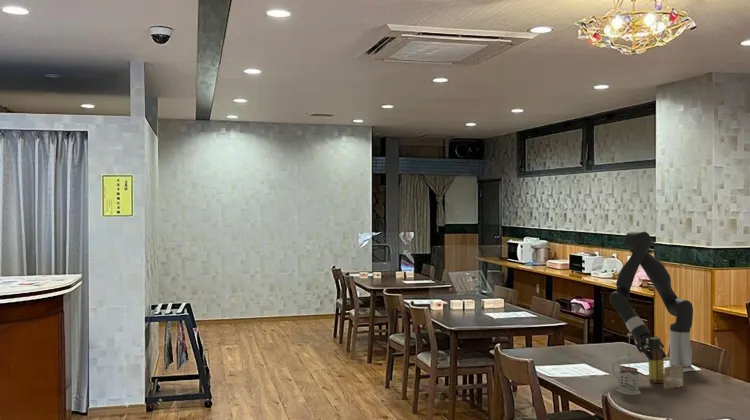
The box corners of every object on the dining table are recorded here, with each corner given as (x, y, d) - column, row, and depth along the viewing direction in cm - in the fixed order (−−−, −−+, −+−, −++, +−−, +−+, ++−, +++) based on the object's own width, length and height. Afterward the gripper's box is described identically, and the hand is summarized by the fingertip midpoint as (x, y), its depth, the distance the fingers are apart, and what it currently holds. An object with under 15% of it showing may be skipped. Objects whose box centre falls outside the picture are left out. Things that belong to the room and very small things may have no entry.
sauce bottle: (663, 380, 293) (663, 337, 293) (664, 384, 287) (665, 340, 287) (647, 379, 295) (648, 336, 295) (648, 382, 290) (649, 338, 289)
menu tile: (663, 387, 282) (664, 367, 282) (678, 385, 287) (679, 365, 287) (668, 389, 280) (668, 368, 280) (683, 386, 285) (683, 366, 285)
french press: (638, 396, 269) (639, 336, 269) (609, 391, 275) (610, 333, 275) (642, 390, 278) (643, 332, 277) (614, 386, 284) (615, 329, 283)
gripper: (631, 325, 295) (652, 355, 285) (653, 322, 301) (674, 352, 291) (622, 334, 299) (642, 364, 289) (643, 331, 306) (663, 361, 296)
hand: (658, 358), depth 290 cm, fingers open, 8 cm apart
